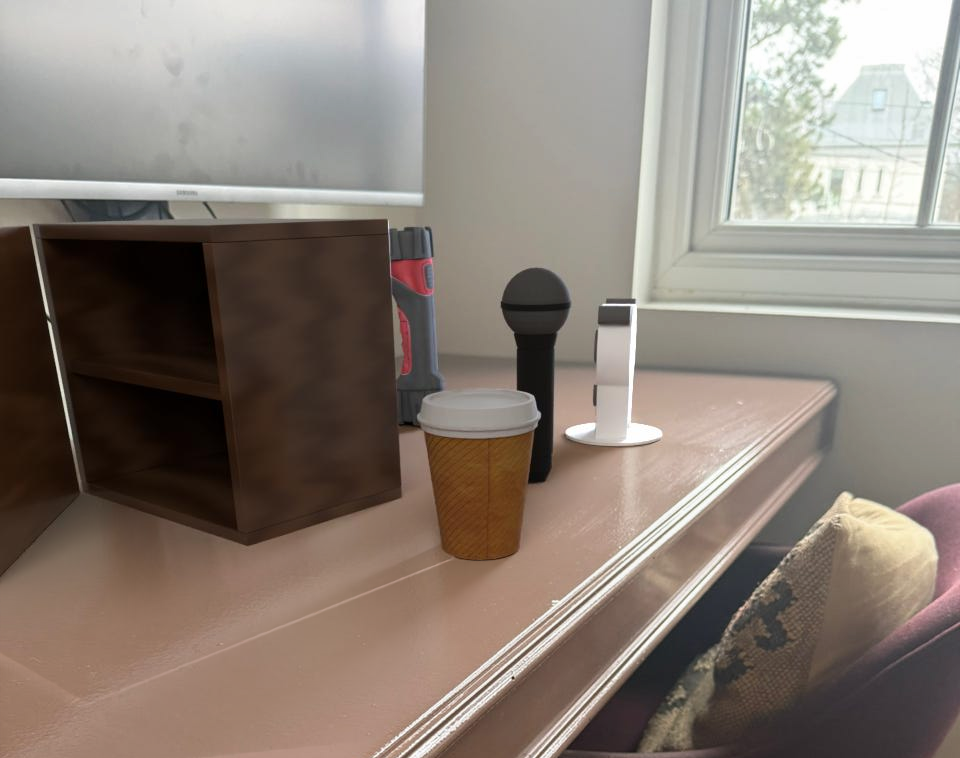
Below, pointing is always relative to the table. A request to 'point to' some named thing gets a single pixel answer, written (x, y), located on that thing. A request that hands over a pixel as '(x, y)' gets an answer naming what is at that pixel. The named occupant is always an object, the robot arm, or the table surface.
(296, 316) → the cupboard
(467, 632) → the table surface
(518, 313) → the microphone
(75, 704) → the table surface
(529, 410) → the disposable coffee cup
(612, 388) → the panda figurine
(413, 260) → the flashlight
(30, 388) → the cupboard door
